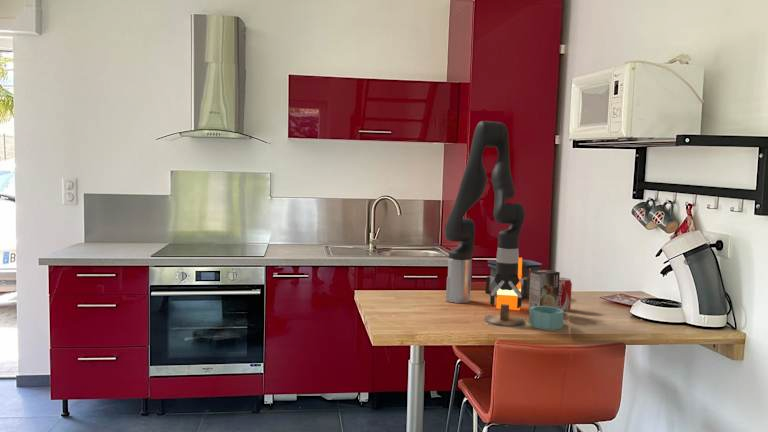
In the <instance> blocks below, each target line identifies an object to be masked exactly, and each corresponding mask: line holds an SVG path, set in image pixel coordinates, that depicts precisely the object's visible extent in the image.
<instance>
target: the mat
mask: <svg viewBox="0 0 768 432" xmlns="http://www.w3.org/2000/svg"><path fill="white" fill-rule="evenodd" d="M490 315H491V314H490ZM490 315H489V314H485V317H484V319H483V321H484V322H485V321H486V317H487V316H490ZM520 318H521V319H523V324H522V325H519V326H500V327H503V328H504V327H505V328H515V329H525V325H526V318H523V317H520ZM485 323H486V322H485ZM487 323H488V322H487ZM490 325H491V326H492V327H499V326H498V325H493V324H490V323H488V325H487V326H490Z"/></svg>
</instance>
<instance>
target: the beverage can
mask: <svg viewBox="0 0 768 432" xmlns="http://www.w3.org/2000/svg"><path fill="white" fill-rule="evenodd" d="M572 288H573V283H572V281H571V278H568V277H560V278H559V301H558V308H560V309H562V310H563V312H566V311H569V310H570V309H571V305H572V303H571V302H572Z"/></svg>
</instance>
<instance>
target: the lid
mask: <svg viewBox="0 0 768 432" xmlns="http://www.w3.org/2000/svg"><path fill="white" fill-rule="evenodd" d="M521 318H522V317H518V316H516V315H510V309H509V305H508V304H501V309H500V313H499V314H490V316H487V317H486V322H488V323H490V324H493V325H498V326H497V327H501V326H519V325H522V324H523V319H521Z"/></svg>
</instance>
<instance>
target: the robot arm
mask: <svg viewBox="0 0 768 432" xmlns="http://www.w3.org/2000/svg"><path fill="white" fill-rule="evenodd" d="M485 148H495V149H496V152H497V160H496V162H495V164H494V167H493V169H492V172H491V184H492V188H493V193H494V203H493V213H492V214H493V218H494V220H495V221H496V222H497V223H498V224H501V225H502V224H505V225H506V224H507V225H509V224H510V225H509V227H508V228H507V229H503V230H500V231H499V232H498V235H497V251H496V257H495V258H496V259H495V260H496V276H495V277H491V275H487V277H486V282H485V291H484V292H485V294H487V295H489V296H490V301H489V303H490V305H491V306H492V307H495V305H496V303H495V302H496V301H495V299H496V297H495V296H496V295H494V294H495V293H496V292H497V291H498V290H499V289H502V290H514V292H515V293H516V294H517V296H518V298H517V308H519V307H520V308H521V307H522V303H523V302H522V298H525V297H524V296H527V279H526V278H524V279H519V278H518V262H519V258H520V257H519V256H520V254H519V242H520V241H519V237H520V233H521V229H522V226H523V224H524V220H525V216H526V213H525V207H524V206H523V205H522V204H521V203H517V202H509V203H508V202H507V203H506V201H508V200H510V199H512V198H513V197H514V196H515V195H516V192H515V191H516V190H515V185H514V182H513V177H512V176H513V175H512V171H511V162H510V161H511V159H510V139H509V131H508V128H507V126H506V124H505V123H504V122H501V121H491V120H481V121H479V122H478V123H477V124H476V127H475V128H474V132H473V137H472V141H471V145H470V150H469V155H468V158H467V163H466V166H465V170H464V172H463V175H462V178H461V181H460V184H459V189H458V193H457V196H456V198H455V201H454V203H453V204H454V205H453V207H452V209H451V211H450V214H449V216H448V218H447V221H446V224H445V228H444V235H445V238H446V240H447V241H449V242H454V243H455V242H457V243H459V244H458V245H457V246H455V247H454V248H452V249H450V250H449V252H448V261H447V277H446V290H445V292H446V293H445V295H446V296H445V301H446V302H450V303H453V302H454V303H453V304H465V303H467V304H468V303H470V302H471V292H472V290H471V289H472V288H471V287H472V262H473V261H472V260H473V254H474V249H475V237H476V226H475V221H473V219H471V218H468V217H465V216H466V214H467V213H468V212H469V210H470V209H472V207H473V206H474V205H475V204H476V203H477V202H478V201H479V200H480V199H481V198H482V196H483V193H484V191H485V189H486V186H487V182H488V174H487V171H486V168H485V165H484V162H483V156H484V155H483V154H484V151H485ZM493 280H494V281H495V282H496V284H497V286H496V287H495V288H494V289H493V291H491V283H492V281H493ZM519 282H521V284H522V285H523V291H524V292H523V293H521V292H520V291H519V289H518V288H517V286H516V285H517V284H518V283H519Z"/></svg>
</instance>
